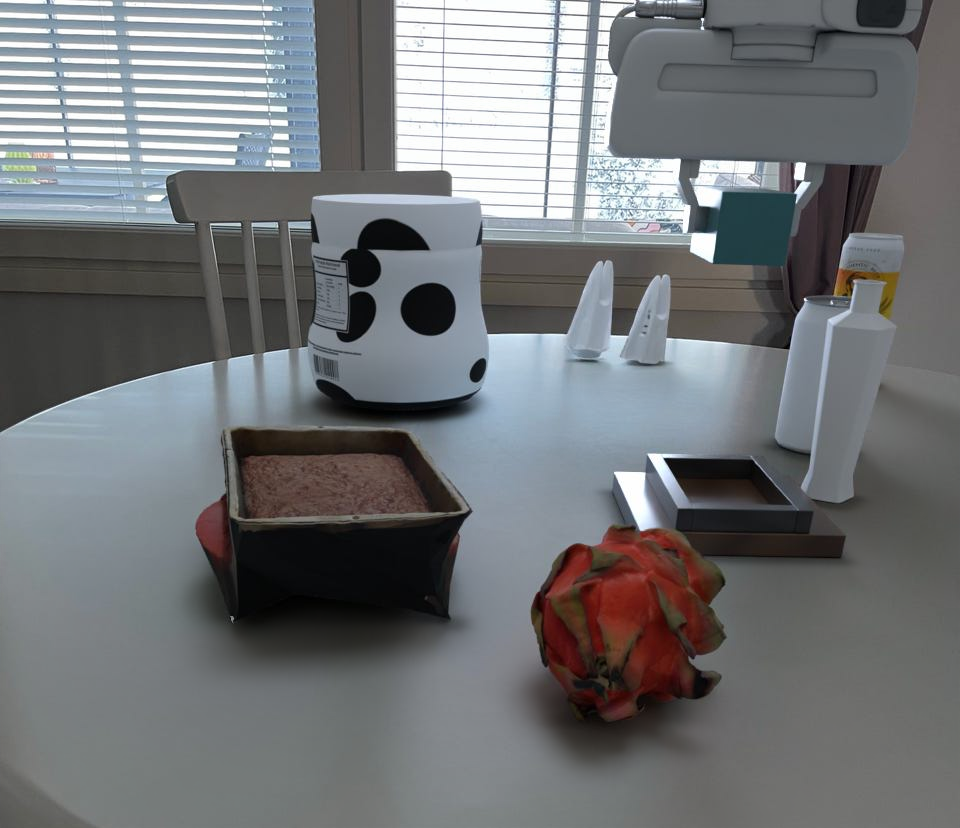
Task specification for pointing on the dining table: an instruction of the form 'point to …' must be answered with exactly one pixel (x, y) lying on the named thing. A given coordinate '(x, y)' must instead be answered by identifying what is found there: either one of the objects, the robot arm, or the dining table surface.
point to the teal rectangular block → (745, 226)
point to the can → (805, 372)
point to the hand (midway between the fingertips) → (739, 234)
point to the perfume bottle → (848, 391)
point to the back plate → (727, 506)
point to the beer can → (871, 265)
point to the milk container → (397, 300)
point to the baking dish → (332, 519)
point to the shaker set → (596, 313)
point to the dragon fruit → (629, 621)
